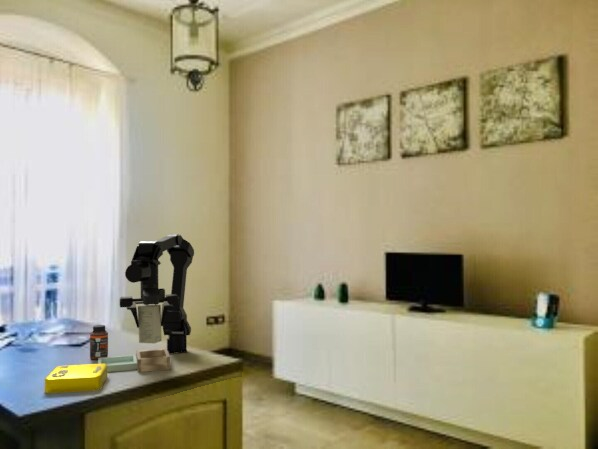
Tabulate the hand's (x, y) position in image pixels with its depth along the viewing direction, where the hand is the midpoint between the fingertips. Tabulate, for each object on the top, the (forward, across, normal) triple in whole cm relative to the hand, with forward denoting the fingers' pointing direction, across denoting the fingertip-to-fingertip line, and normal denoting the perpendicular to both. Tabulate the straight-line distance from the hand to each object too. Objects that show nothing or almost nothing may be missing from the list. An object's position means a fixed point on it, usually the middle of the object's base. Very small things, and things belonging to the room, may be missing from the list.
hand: (149, 326), depth 175 cm
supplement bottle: (+13, -16, +18) cm, 27 cm away
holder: (+13, +1, 0) cm, 13 cm away
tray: (+13, -10, +4) cm, 17 cm away
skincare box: (+5, 0, 0) cm, 5 cm away
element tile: (+14, -22, -13) cm, 29 cm away
